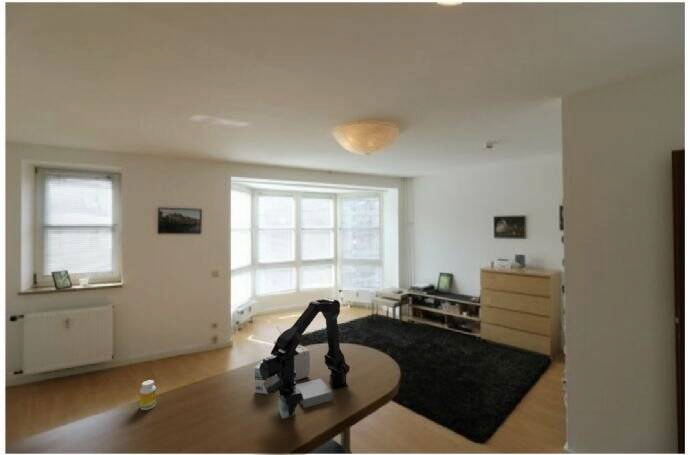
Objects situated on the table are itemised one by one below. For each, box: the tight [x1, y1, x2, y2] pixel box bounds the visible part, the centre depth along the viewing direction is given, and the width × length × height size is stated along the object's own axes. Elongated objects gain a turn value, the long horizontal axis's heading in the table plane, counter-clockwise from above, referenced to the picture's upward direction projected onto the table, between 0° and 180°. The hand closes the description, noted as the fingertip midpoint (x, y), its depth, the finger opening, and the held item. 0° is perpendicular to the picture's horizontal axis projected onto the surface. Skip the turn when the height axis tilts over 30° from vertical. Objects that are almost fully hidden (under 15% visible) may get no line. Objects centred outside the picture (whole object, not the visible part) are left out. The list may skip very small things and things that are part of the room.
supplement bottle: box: [139, 379, 157, 411], centre depth 127 cm, size 5×5×10 cm
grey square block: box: [293, 378, 333, 409], centre depth 135 cm, size 12×12×4 cm
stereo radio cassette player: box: [273, 327, 311, 382], centre depth 156 cm, size 21×8×20 cm, turn 40°
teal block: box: [277, 395, 296, 419], centre depth 124 cm, size 5×5×6 cm
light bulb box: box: [254, 360, 273, 395], centre depth 142 cm, size 11×7×11 cm, turn 168°
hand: (286, 409), depth 124 cm, fingers open, 9 cm apart
